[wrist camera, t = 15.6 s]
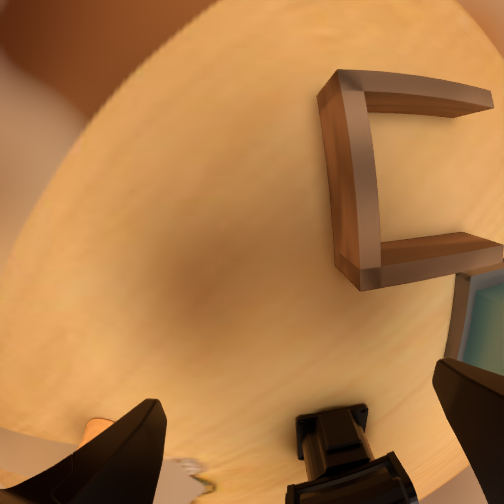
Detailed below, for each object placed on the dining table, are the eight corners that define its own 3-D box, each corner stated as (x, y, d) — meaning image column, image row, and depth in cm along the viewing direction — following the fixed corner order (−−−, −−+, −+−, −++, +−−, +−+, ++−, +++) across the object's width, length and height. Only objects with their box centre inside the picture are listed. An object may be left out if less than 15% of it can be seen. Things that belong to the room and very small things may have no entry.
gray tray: (504, 350, 22) (514, 358, 20) (438, 378, 22) (448, 389, 20) (522, 253, 19) (536, 258, 17) (456, 269, 20) (470, 276, 18)
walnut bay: (461, 246, 19) (502, 262, 14) (335, 266, 19) (360, 291, 15) (450, 103, 17) (490, 90, 12) (316, 95, 17) (337, 69, 12)
